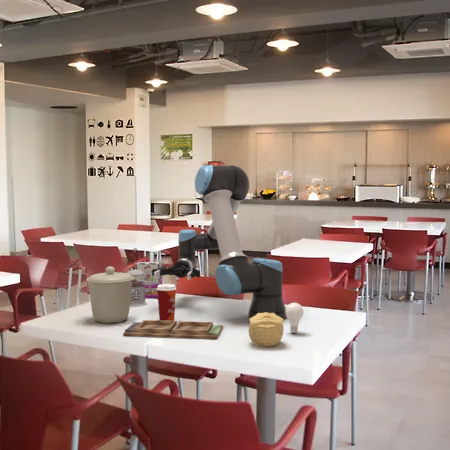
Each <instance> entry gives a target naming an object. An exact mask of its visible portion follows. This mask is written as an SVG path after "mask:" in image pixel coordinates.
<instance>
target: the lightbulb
mask: <svg viewBox="0 0 450 450" xmlns="http://www.w3.org/2000/svg"><path fill="white" fill-rule="evenodd" d="M285 308H286V309H285V314H286V316H287V319H288V322H289V327H290V333H291V334H293V335H295V334H297V333H298V332H299V324H300V321H301V319H302V318H303V315H304V308H303V306H302V305H301V304H300V303H298V302H291V303H288V304H287V306H285Z"/></svg>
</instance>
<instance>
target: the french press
mask: <svg viewBox="0 0 450 450" xmlns="http://www.w3.org/2000/svg"><path fill="white" fill-rule="evenodd" d="M132 251H134V252H137V251H138V248H137V247H133V249H132ZM126 274H129V275H131V276H132V277H134V280H132V290H131V300H130V308H134V307H135V308H137V307H143V306H147V305H148V304H147V302H146V298H145V293H147V292H148V291H149V290H150V288H151V282H149V281H150V280H148V279H149V278H148V279H147V277H146V276H145V277H146V279H147V280H148V282H149V289H148V291H147V292H144V285H140V284H143V283H144V282H142V281H137V280H136V276H140V275H144V274H145V273H144V272H142V271H140V270H136V263H134V269H132V270H129V271H127V272H126ZM145 277H143V280H145ZM137 290H139V291H138V292H137ZM137 293H139V294H138V295H137ZM137 296H139V297H137Z"/></svg>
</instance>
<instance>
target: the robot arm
mask: <svg viewBox="0 0 450 450" xmlns="http://www.w3.org/2000/svg"><path fill="white" fill-rule="evenodd" d="M194 179H195V180H194V186H195V187H194V189H195V191H196V193H197V194H198V195H202V196H203V200H204V202H205V203H208V205H209V210H210V211H209V212H210V215H211V219H212V220H211V223H210V225H209V227H208V229H207V232H206V233H196V230H195V229H180V230H179V232H178V239H177V240H178V260H176V261H175V262H174V263H173V265H172V266H166V265H165V266H162V268H157V269H152V276H154V279H157V278H158V277H160V276H161V275H162V276H167V275H169V276H175V277H176V278H180V279H183V278H187V279H186V280H187V281H191V279H193V278H196V277H197V278H200V277H201V271H200V270H199V269H198V268H196V267H197V265H198V262H197V259H196V251H205V250H207V251H208V250H218V251H219V254H220V260H219V261H218V266H217V267H216V269H215V282H216V285H217V287H218V289H219V290H220V291H221V293H223V294H225V295H226V296H233V295H234V296H238V295H242V294H243V295H244V294H251V293H252V300H251V303H250V306H249V309H248V318H249V319H250V318H252V317H254V316H255V315H256V314H257V313H265V312H267V313H274V314H275V315H277V316H279V317H281V318H283V320H285V319H286V318H287V316H286V314H285V309H286V305H285V303H284V299H283V273H284V272H283V263H282V262H281V261H279V260H276V259H268V258H263V257H262V258H259V257H256V258H255V257H254V258H252V262H250V261H249V257H248V255H246V254H245V253H243V249H242V246H241V240H240V236H239V232H238V228H237V225H236V220H235V214H236V213H237V210H238V208H239V207H240V204H241V203H242V202H243V201H244V200H245V199H246V198H247V196H248V194H249V191H250V179H249V176H248V174H247V173H246V171H244V170H243V168H242V167H240V166H237V165H213V164H209V165H202V166H200V167H199V168H198V170H197V172H196V176H195V178H194ZM287 319H288V318H287Z"/></svg>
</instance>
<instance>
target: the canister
mask: <svg viewBox="0 0 450 450" xmlns="http://www.w3.org/2000/svg"><path fill="white" fill-rule="evenodd" d="M115 271H116V268H115V267H114V266H111V265H110V266H107V267H106V268H105V272H100V273H95V274H91V275H89V277H87V278H86V282H87V283H88V284H87V285H88V291H89V298H90V306H91V312H92V317H93V320H95V321H96V322H99V323H103V324H114V323H119V322H123V321H125V320H127V319H128V317H129V314H130V308H131V307H130V300H131V290H132V281H135V276H131V275H129V274H126V273H127V272H126V273H125V272H117V271H116V272H115ZM132 291H133V290H132Z"/></svg>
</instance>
